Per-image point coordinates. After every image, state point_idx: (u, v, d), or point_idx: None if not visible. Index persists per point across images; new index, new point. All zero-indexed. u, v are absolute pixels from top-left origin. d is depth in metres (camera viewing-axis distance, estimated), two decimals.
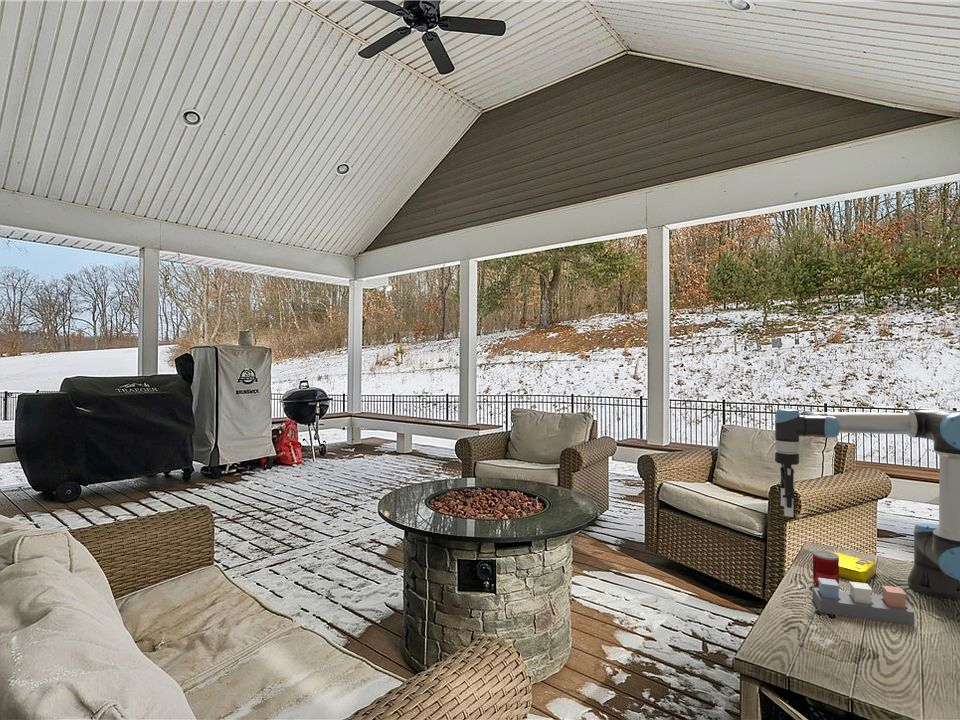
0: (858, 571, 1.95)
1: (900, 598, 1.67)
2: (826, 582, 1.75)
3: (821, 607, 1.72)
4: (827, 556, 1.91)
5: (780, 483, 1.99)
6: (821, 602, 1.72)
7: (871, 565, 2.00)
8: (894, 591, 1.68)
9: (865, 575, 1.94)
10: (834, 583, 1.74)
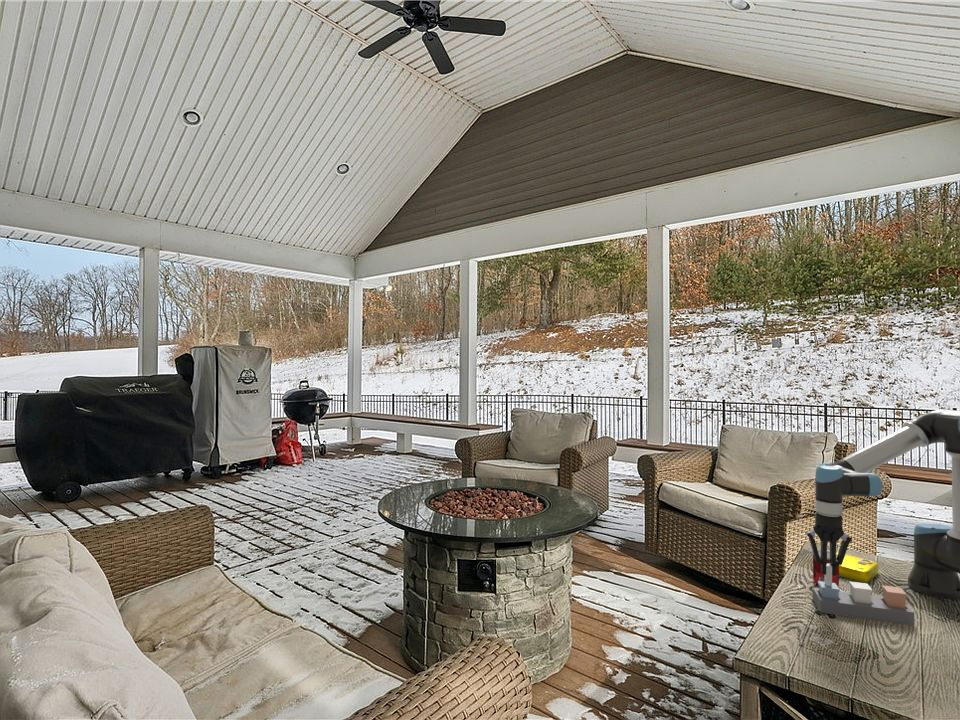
0: (860, 571, 1.95)
1: (900, 598, 1.67)
2: None
3: (821, 607, 1.72)
4: (827, 556, 1.91)
5: None
6: (821, 602, 1.72)
7: (873, 565, 2.00)
8: (894, 591, 1.68)
9: (867, 575, 1.94)
10: (834, 586, 1.74)
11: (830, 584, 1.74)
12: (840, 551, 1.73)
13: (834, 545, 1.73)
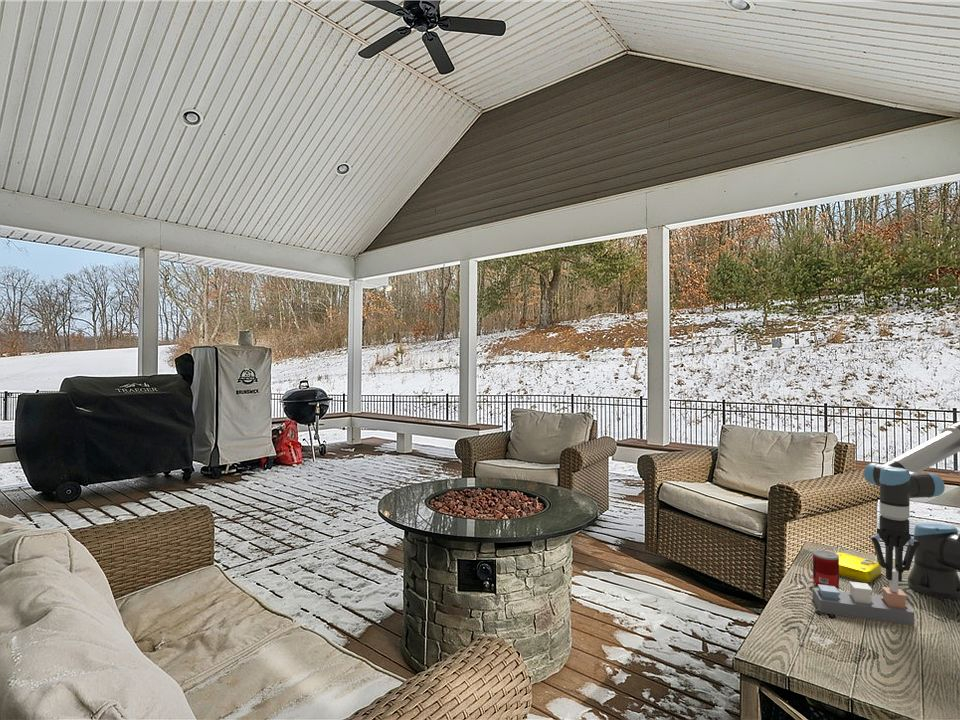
0: (862, 571, 1.95)
1: (900, 600, 1.67)
2: (826, 589, 1.75)
3: (821, 607, 1.72)
4: (827, 556, 1.91)
5: None
6: (821, 602, 1.72)
7: (876, 565, 1.99)
8: (894, 593, 1.68)
9: (869, 575, 1.94)
10: (834, 590, 1.74)
11: (896, 590, 1.68)
12: (907, 556, 1.67)
13: (901, 550, 1.67)
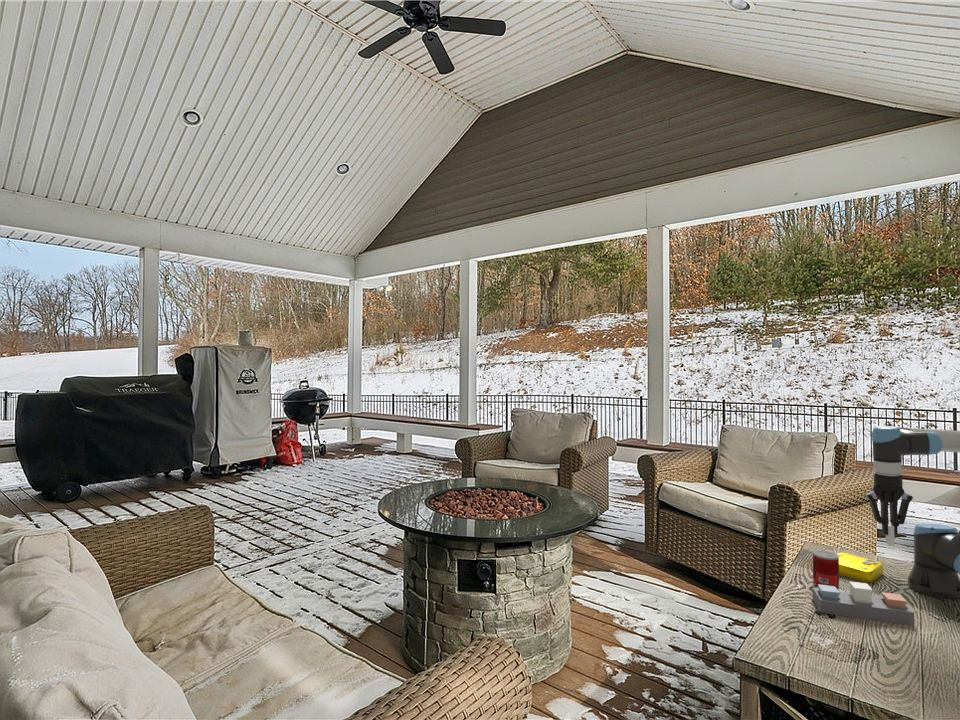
0: (864, 571, 1.95)
1: (900, 605, 1.67)
2: (826, 589, 1.75)
3: (821, 607, 1.72)
4: (827, 556, 1.91)
5: None
6: (821, 602, 1.72)
7: (878, 566, 1.99)
8: (894, 598, 1.68)
9: (871, 575, 1.94)
10: (834, 590, 1.74)
11: (893, 544, 1.74)
12: (901, 510, 1.74)
13: (895, 504, 1.73)
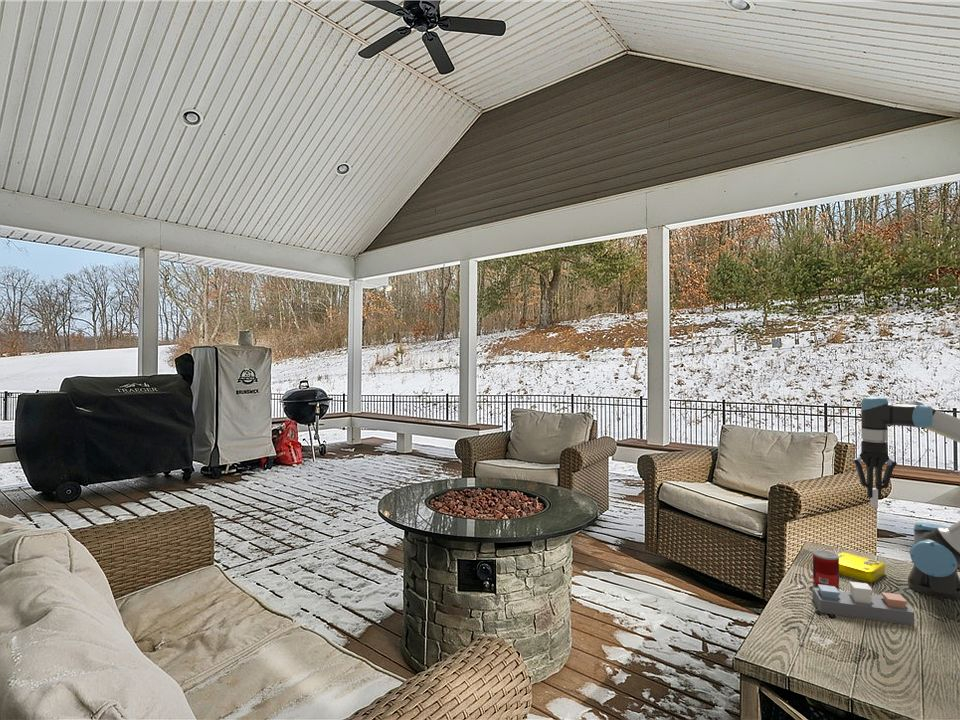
0: (865, 571, 1.95)
1: (900, 605, 1.67)
2: (826, 589, 1.75)
3: (821, 607, 1.72)
4: (827, 556, 1.91)
5: None
6: (821, 602, 1.72)
7: (879, 566, 1.99)
8: (894, 598, 1.68)
9: (872, 575, 1.94)
10: (834, 590, 1.74)
11: (876, 506, 1.87)
12: (886, 475, 1.86)
13: (880, 469, 1.86)
